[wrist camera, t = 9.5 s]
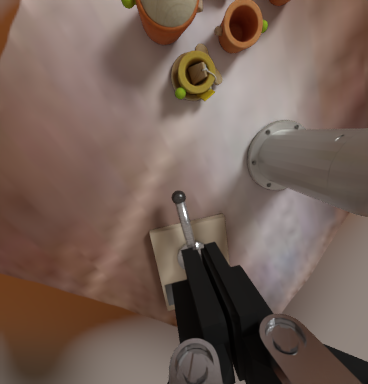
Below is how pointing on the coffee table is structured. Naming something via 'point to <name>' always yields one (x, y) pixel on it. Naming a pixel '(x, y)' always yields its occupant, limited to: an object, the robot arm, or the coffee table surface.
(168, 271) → the stand
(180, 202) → the ball-knob lever handle
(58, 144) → the coffee table surface
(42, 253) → the coffee table surface
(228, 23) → the toy tea set
